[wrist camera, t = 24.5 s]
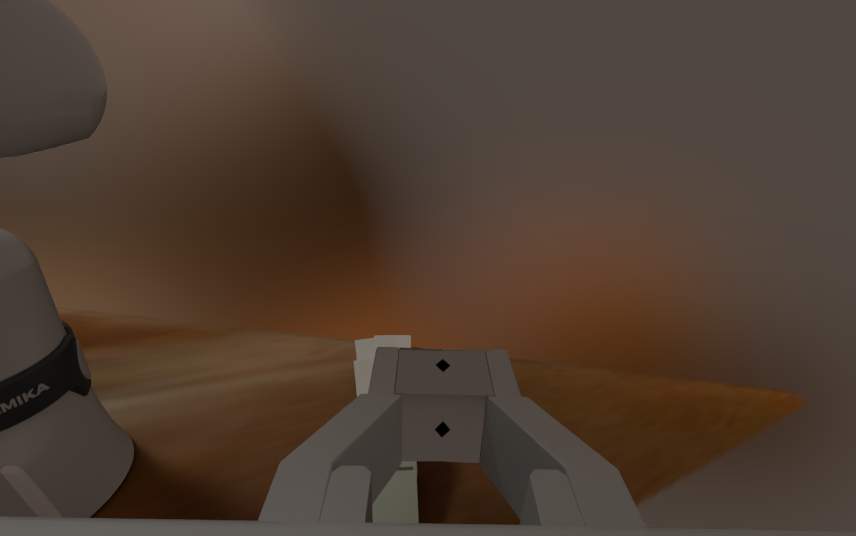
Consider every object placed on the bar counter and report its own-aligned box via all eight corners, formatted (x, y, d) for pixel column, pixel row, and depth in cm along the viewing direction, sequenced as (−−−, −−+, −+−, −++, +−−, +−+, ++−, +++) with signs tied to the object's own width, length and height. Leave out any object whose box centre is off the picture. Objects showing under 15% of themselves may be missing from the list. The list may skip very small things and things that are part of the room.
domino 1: (410, 427, 43) (396, 354, 49) (361, 436, 42) (353, 360, 48) (409, 434, 44) (396, 361, 50) (361, 442, 43) (354, 367, 49)
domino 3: (418, 525, 34) (414, 419, 40) (355, 528, 33) (361, 421, 40) (418, 531, 35) (413, 427, 41) (357, 534, 34) (362, 428, 41)
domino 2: (407, 396, 47) (394, 334, 53) (362, 403, 46) (354, 340, 52) (407, 403, 48) (394, 342, 54) (363, 411, 47) (355, 347, 53)
